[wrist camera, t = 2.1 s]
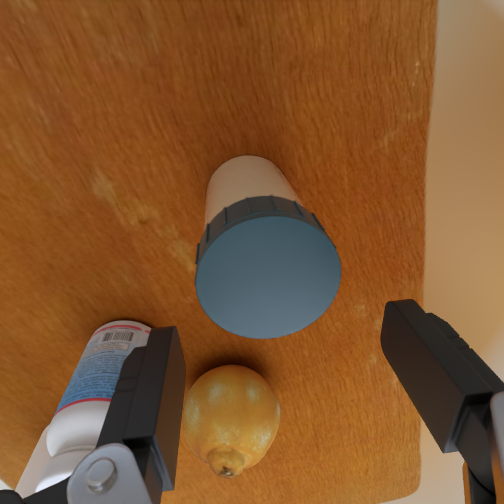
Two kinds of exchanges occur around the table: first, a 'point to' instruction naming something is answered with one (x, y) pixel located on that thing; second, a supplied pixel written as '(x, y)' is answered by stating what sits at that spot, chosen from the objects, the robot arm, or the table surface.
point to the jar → (245, 184)
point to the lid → (266, 268)
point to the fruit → (230, 419)
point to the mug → (34, 468)
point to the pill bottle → (88, 398)
